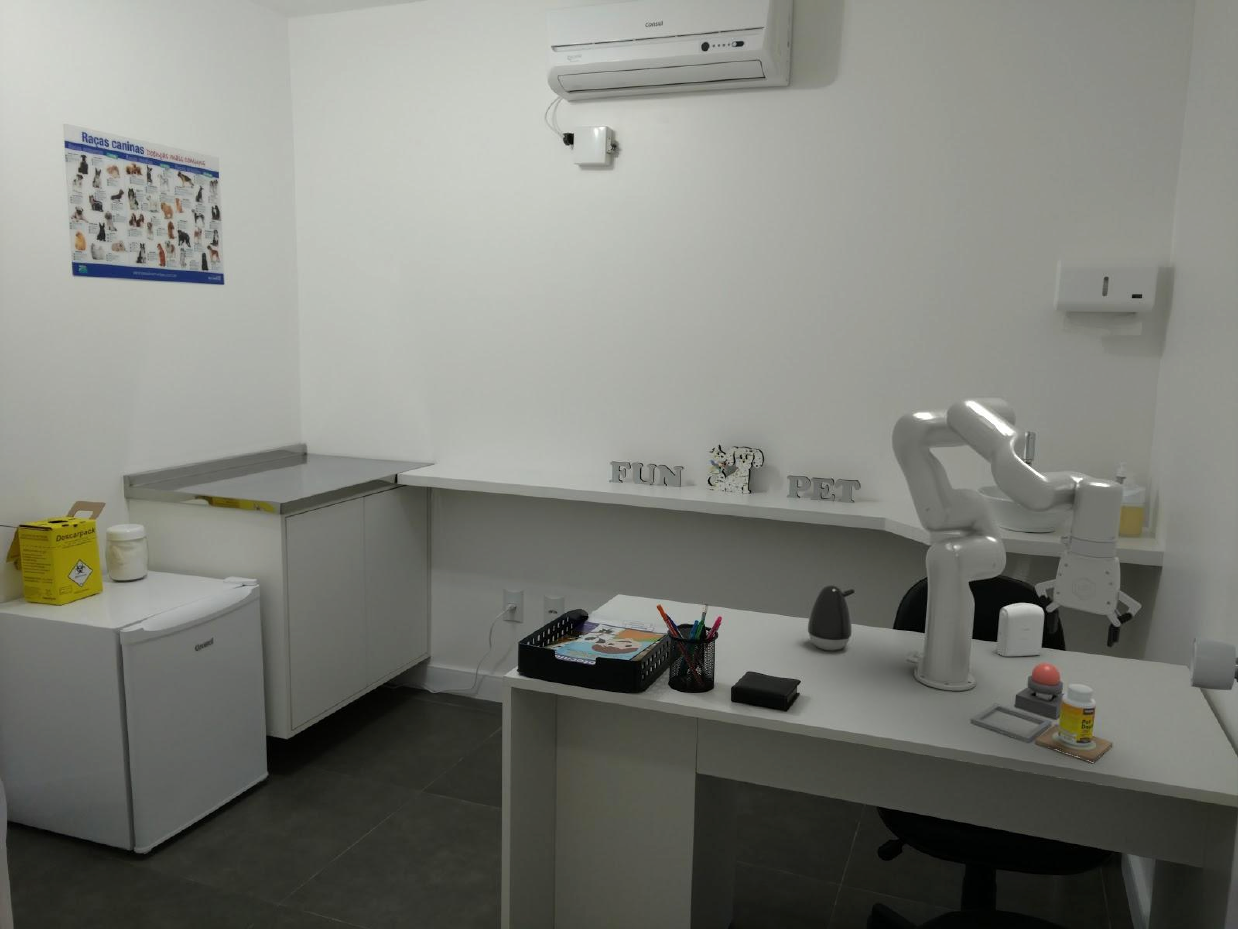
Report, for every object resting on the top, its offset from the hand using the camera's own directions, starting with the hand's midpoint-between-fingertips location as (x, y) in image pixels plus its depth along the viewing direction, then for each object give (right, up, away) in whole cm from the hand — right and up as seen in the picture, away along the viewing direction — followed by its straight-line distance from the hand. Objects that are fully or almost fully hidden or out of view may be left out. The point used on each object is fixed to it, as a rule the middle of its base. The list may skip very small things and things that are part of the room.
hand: (1081, 638), depth 161 cm
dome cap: (+2, -16, +18) cm, 24 cm away
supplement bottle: (0, -19, +2) cm, 19 cm away
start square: (-8, -19, +10) cm, 23 cm away
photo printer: (+10, -13, +48) cm, 51 cm away
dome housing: (+2, -18, +18) cm, 25 cm away
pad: (-1, -20, +2) cm, 20 cm away
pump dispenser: (-34, -12, +50) cm, 61 cm away
